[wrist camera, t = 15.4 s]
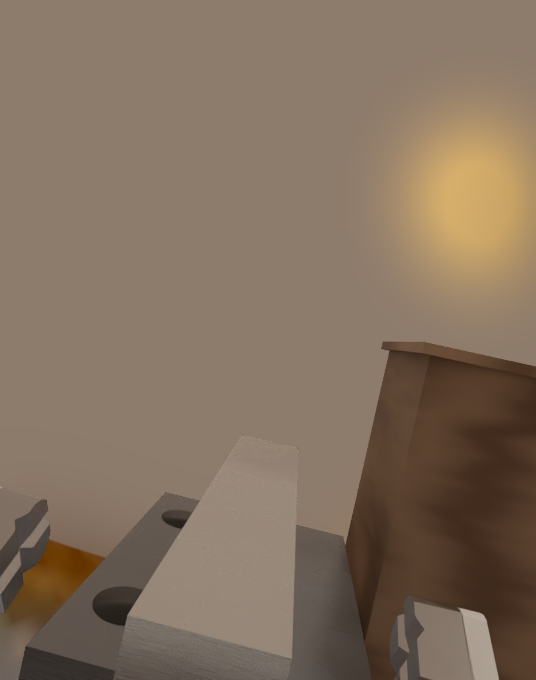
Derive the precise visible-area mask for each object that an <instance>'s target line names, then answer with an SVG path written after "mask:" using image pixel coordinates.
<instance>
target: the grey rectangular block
mask: <svg viewBox="0 0 536 680" xmlns="http://www.w3.org/2000/svg"><path fill="white" fill-rule="evenodd" d="M297 478H298V448H297V447H292V446H288V445H283V444H280V443H276V442H271V441H267V440H263V439H258V438H254V437H250V436H246V435H241V437H240V439H239V440H238V442H237V443H236V445H235V446H234V448H233V450H232V451H231V453H230V454H229V456H228V458H227V459H226V461H225V462H224V464H223V465H222V467H221V469H220V470H219V472H218V473H217V475H216V476H215V478H214V480H213V481H212V483H211V484H210V486H209V487H208V489H207V491H206V492H205V494H204V495H203V497H202V498H201V500H200V502H199V503H198V505H197V506H196V508H195V509H194V511H193V513H192V514H191V516H190V517H189V519H188V520H187V522H186V524H185V525H184V527H183V528H182V530H181V531H180V533H179V535H178V536H177V538H176V539H175V541H174V542H173V544H172V546H171V547H170V549H169V550H168V552H167V554H166V555H165V557H164V558H163V560H162V561H161V563H160V565H159V566H158V568H157V569H156V571H155V572H154V574H153V576H152V577H151V579H150V580H149V582H148V583H147V585H146V587H145V588H144V590H143V591H142V593H141V594H140V596H139V598H138V599H137V601H136V602H135V604H134V606H133V607H132V609H131V610H130V612H129V613H128V615H127V620H126V624H125V629H124V633H123V638H122V642H121V647H120V651H119V656H118V660H117V665H116V669H115V674H114V678H113V680H287V678H288V674H289V669H290V665H291V661H292V640H293V607H294V575H295V542H296V510H297Z"/></svg>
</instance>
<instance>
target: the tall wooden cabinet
mask: <svg viewBox="0 0 536 680" xmlns="http://www.w3.org/2000/svg"><path fill="white" fill-rule="evenodd" d="M381 349H385V350H389V356H388V360H387V364H386V369H385V373H384V378H383V382H382V387H381V391H380V395H379V400H378V404H377V409H376V413H375V418H374V422H373V426H372V431H371V436H370V440H369V444H368V448H367V453H366V458H365V462H364V466H363V471H362V475H361V480H360V484H359V489H358V493H357V497H356V502H355V506H354V510H353V515H352V519H351V524H350V528H349V532H348V537H347V541H346V546H345V548H346V553H347V558H348V563H349V568H350V573H351V578H352V583H353V588H354V593H355V598H356V603H357V608H358V613H359V618H360V623H361V628H362V633H363V637H364V642H365V647H366V652H367V657H368V662H369V667H370V672H371V677H372V680H394V679H395V677H396V675H397V674H396V672H395V671H394V669H393V667H392V665H391V664H390V639H391V634H392V629H393V625H394V623H395V621H396V618H397V616H399V615H402V614H404V602H405V600H406V599H407V597H408V596H410V595H413V596H417V597H421V598H425V599H429V600H433V601H437V602H441V603H446V604H450V605H454V606H456V607H458V608H462V609H466V610H470V611H475V612H479V613H481V614H483V615H484V617H485V618H486V620H487V625H488V630H489V634H490V639H491V644H492V648H493V653H494V658H495V663H496V667H497V672H498V677H499V680H536V367H535V366H531V365H526V364H522V363H517V362H513V361H508V360H503V359H498V358H494V357H490V356H485V355H480V354H476V353H471V352H467V351H462V350H458V349H453V348H449V347H444V346H439V345H435V344H430V343H426V342H383V344H382V348H381Z"/></svg>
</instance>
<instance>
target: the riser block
mask: <svg viewBox="0 0 536 680" xmlns="http://www.w3.org/2000/svg"><path fill="white" fill-rule="evenodd" d="M199 502H200V501H198V500H194V499H190V498H186V497H182V496H178V495H174V494H170V493H166V492H165V494H164V495H163V496H162V497H161V498H160V499H159V500H158V501H157V502H156V503H155V505H154V506H153V507H152V508H151V509H150V510H149V511H148V512H147V514H145V516H144V517H143V518H142V519H141V520H140V521H139V522H138V523H137V525H135V527H134V528H133V529H132V530H131V531H130V532H129V533H128V534H127V535H126V536H125V538H124V539H123V540H122V541H121V542H120V543H119V544H118V545H117V546H116V547H115V548H114V550H113V551H112V552H111V553H110V554H109V555H108V556H107V557H106V558H105V559H104V561H103V562H102V563H101V564H100V565H99V566H98V567H97V568H96V569H95V570H94V572H93V573H92V574H91V575H90V576H89V577H88V578H87V579H86V580H85V581H84V583H83V584H82V585H81V586H80V587H79V588H78V589H77V590H76V591H75V592H74V594H73V595H72V596H71V597H70V598H69V599H68V600H67V601H66V602H65V603H64V605H63V606H62V607H61V608H60V609H59V610H58V611H57V612H56V613H55V614H54V616H53V617H52V618H51V619H50V620H49V621H48V622H47V623H46V624H45V625H44V626H43V628H42V629H41V630H40V631H39V632H38V633H37V634H36V635H35V636H34V637H33V639H32V640H31V641H30V642H29V643H28V644H27V645H26V648H25V652H24V657H23V661H22V666H21V671H20V675H19V680H113V678H114V674H115V669H116V665H117V660H118V656H119V651H120V647H121V642H122V638H123V633H124V629H125V624H126V620H127V615H128V613H129V612H130V610H131V609H132V607H133V606H134V604H135V602H136V601H137V599H138V598H139V596H140V594H141V593H142V591H143V590H144V588H145V587H146V585H147V583H148V582H149V580H150V579H151V577H152V576H153V574H154V572H155V571H156V569H157V568H158V566H159V565H160V563H161V561H162V560H163V558H164V557H165V555H166V554H167V552H168V550H169V549H170V547H171V546H172V544H173V542H174V541H175V539H176V538H177V536H178V535H179V533H180V531H181V530H182V528H183V527H184V525H185V524H186V522H187V520H188V519H189V517H190V516H191V514H192V513H193V511H194V509H195V508H196V506H197V505H198V503H199ZM287 680H372V677H371V672H370V667H369V662H368V657H367V652H366V647H365V642H364V637H363V633H362V628H361V623H360V618H359V613H358V608H357V603H356V598H355V593H354V588H353V583H352V578H351V573H350V568H349V563H348V558H347V553H346V548H345V543H344V539H343V536H339V535H335V534H331V533H327V532H323V531H319V530H315V529H311V528H307V527H303V526H299V525H296V542H295V575H294V607H293V640H292V661H291V665H290V669H289V674H288V678H287Z"/></svg>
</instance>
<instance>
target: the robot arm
mask: <svg viewBox="0 0 536 680" xmlns="http://www.w3.org/2000/svg"><path fill="white" fill-rule="evenodd" d="M47 511H48V506H47V500H45V499H41V498H37V497H34V496H30V495H27V494H23V493H19V492H16V491H12V490H9V489H5V488H3V487H0V612H4V613H5V611H6V610H7V608H8V607H9V605H10V604H11V602H12V601H13V599H14V598H15V596H16V595H17V593H18V592H19V590H20V589H21V587H22V586H23V573H24V572H26V571H27V570H29V569H31V568H33V567H34V566H36V564H37V563H38V561H39V560H40V558H41V557H42V555H43V553H44V551H45V548H46V546H47V544H48V541H49V536H50V523H49V522H48V521H47V520H46V519H45V517H44V515H45V514H46V512H47ZM390 664H391V665H392V667H393V669H394V671H395V672H396V674H397V675H396V677H395V679H394V680H499V677H498V672H497V667H496V663H495V658H494V653H493V648H492V644H491V639H490V634H489V630H488V625H487V620H486V618H485V617H484V615H483V614H481V613H479V612H475V611H470V610H466V609H462V608H458V607H456V606H454V605H450V604H446V603H441V602H437V601H433V600H429V599H425V598H421V597H417V596H413V595H410V596H408V597H407V599H406V600H405V602H404V614H402V615H399V616H397V618H396V621H395V623H394V625H393V629H392V634H391V639H390Z"/></svg>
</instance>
